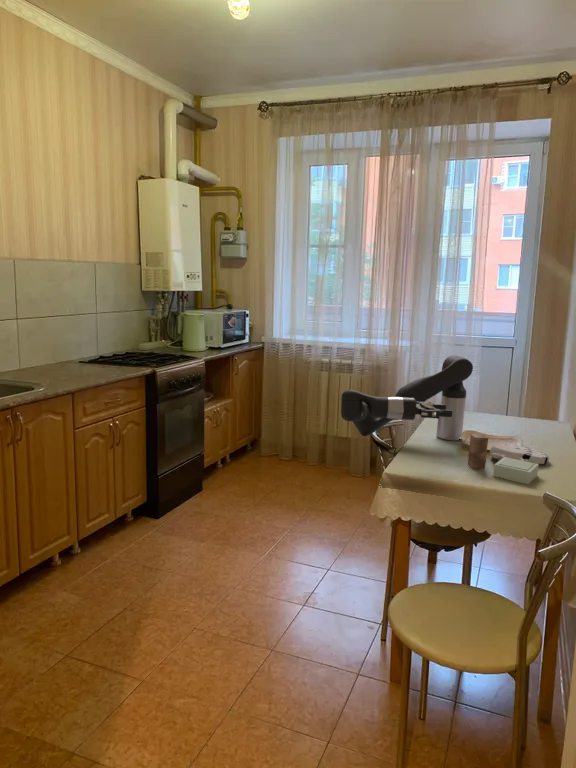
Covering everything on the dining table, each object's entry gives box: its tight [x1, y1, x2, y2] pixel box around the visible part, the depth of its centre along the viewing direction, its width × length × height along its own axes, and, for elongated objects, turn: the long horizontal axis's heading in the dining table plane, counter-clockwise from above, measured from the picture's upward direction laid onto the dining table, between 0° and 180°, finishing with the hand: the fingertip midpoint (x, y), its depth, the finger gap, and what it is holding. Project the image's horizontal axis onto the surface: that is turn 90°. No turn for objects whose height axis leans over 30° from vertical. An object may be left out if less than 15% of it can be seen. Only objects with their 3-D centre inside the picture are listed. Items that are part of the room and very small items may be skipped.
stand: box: [492, 457, 540, 485], centre depth 187 cm, size 11×11×4 cm
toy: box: [489, 442, 550, 465], centre depth 205 cm, size 22×5×20 cm
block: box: [467, 433, 489, 470], centre depth 194 cm, size 4×4×11 cm
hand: (448, 410), depth 191 cm, fingers open, 8 cm apart
